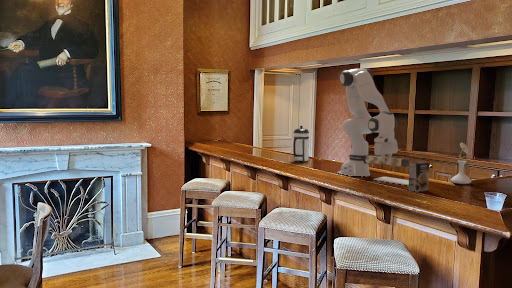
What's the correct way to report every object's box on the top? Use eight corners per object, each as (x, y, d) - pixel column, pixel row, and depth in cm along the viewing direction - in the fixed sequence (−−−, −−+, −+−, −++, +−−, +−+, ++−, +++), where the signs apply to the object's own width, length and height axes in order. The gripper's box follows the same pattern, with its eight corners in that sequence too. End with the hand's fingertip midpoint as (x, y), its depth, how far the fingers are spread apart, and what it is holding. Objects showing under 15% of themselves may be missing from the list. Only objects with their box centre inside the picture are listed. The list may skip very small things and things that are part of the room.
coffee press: (289, 160, 349) (289, 125, 346) (307, 159, 351) (308, 124, 347) (293, 163, 332) (293, 126, 328) (312, 163, 334) (313, 126, 330)
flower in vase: (472, 186, 243) (474, 144, 241) (451, 184, 247) (453, 143, 244) (469, 181, 256) (471, 141, 253) (449, 180, 259) (451, 141, 257)
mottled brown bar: (365, 162, 256) (365, 155, 255) (369, 161, 258) (369, 155, 258) (405, 166, 236) (405, 159, 236) (408, 165, 239) (408, 158, 238)
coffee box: (416, 192, 229) (417, 163, 227) (408, 190, 234) (408, 162, 233) (428, 190, 232) (429, 162, 230) (420, 188, 238) (421, 160, 236)
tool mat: (373, 180, 262) (373, 178, 262) (384, 177, 270) (384, 176, 270) (418, 187, 239) (418, 186, 239) (428, 184, 247) (428, 183, 247)
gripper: (391, 137, 255) (390, 159, 256) (372, 139, 242) (372, 162, 243) (400, 137, 250) (400, 160, 251) (381, 140, 237) (381, 163, 238)
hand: (386, 161), depth 247 cm, fingers closed on mottled brown bar, 4 cm apart
